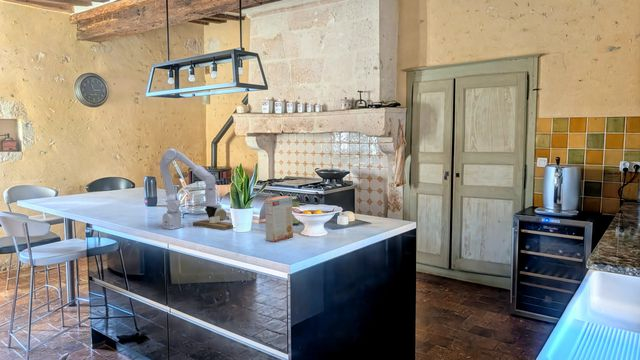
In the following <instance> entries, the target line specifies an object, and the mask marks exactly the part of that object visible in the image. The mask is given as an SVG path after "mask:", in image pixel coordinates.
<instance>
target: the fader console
mask: <svg viewBox="0 0 640 360" xmlns="http://www.w3.org/2000/svg"><path fill="white" fill-rule="evenodd" d="M232 223H233V222H229V221H228V222H227V221H222V220H220V222H218V223H210V220H209V219H207V218H206V219H202V220H201V219H200V220H197V221H193V222H192V226H193V227H200V228H207V229H213V230H219V231H227V230H230V229H234V228H233V225H232Z"/></svg>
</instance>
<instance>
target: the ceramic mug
mask: <svg viewBox="0 0 640 360" xmlns="http://www.w3.org/2000/svg"><path fill="white" fill-rule="evenodd" d="M214 216H220V221H223V220H226V219H230V216H229V215H227V211H226V210H225V209H224V208H222V207H221V208H219V209H218V208H217V210H216V212H215V215H214Z"/></svg>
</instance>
